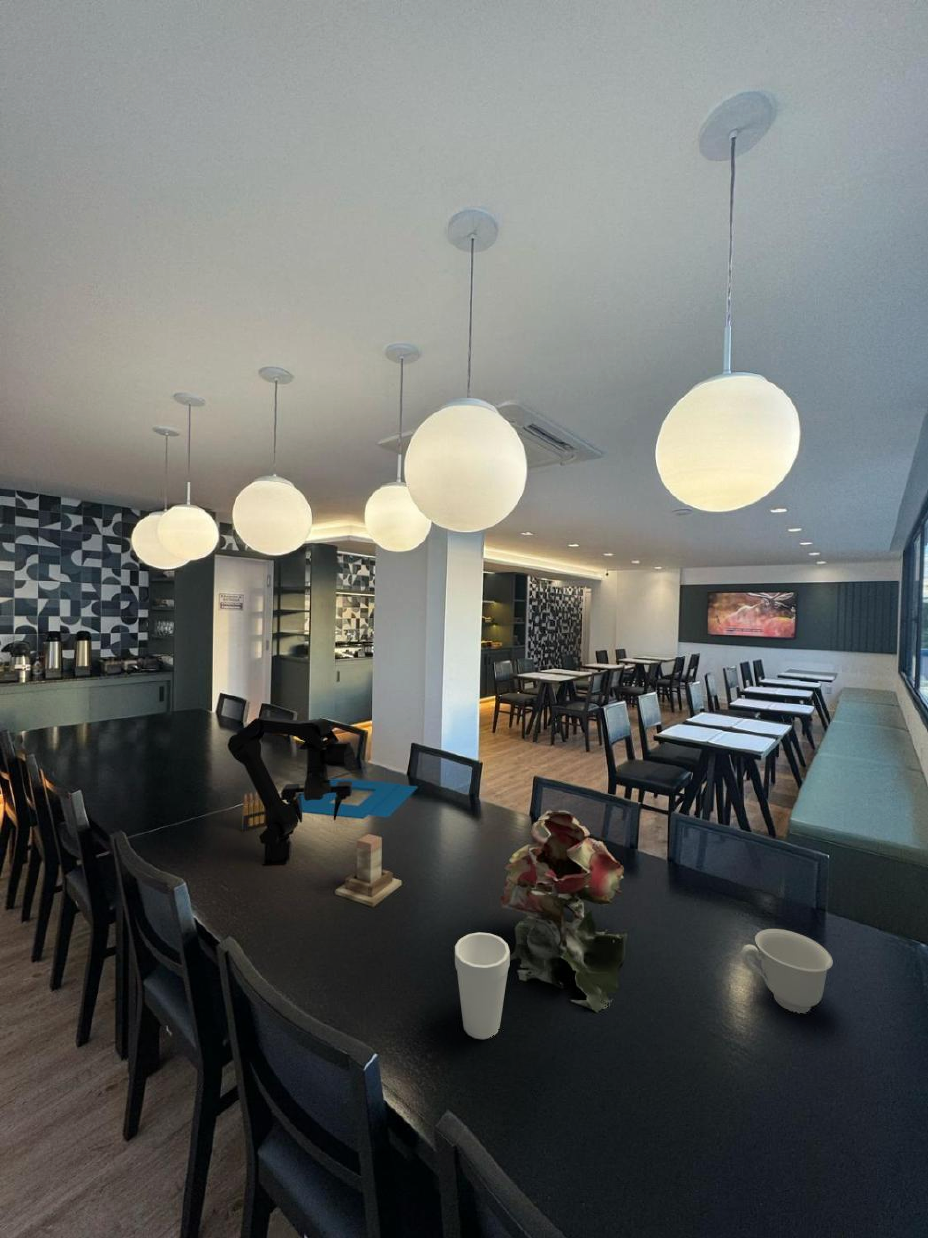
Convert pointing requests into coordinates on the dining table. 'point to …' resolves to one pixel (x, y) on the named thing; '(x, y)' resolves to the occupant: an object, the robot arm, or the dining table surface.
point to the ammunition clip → (253, 813)
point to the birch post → (369, 858)
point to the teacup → (790, 967)
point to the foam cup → (482, 981)
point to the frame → (376, 804)
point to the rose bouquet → (557, 881)
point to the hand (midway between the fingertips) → (317, 821)
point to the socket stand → (368, 888)
